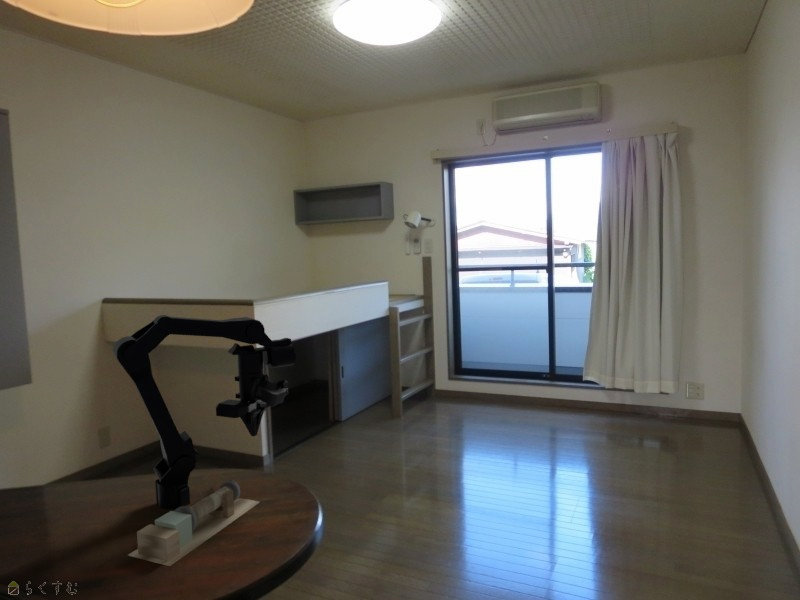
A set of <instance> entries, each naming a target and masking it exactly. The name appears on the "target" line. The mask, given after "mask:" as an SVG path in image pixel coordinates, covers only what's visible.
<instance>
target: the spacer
mask: <svg viewBox="0 0 800 600" xmlns="http://www.w3.org/2000/svg"><path fill="white" fill-rule="evenodd" d="M154 525H156V526H161V527H165V528H170V529H174V530H178V531H179V539H180V548H182V547H183V546H185V545H186V544H188V543H189V542H191V541H192V540H193V539H192V519H191V515H189V514H184V513H179V512H174V510H169V511H168V512H167V513H165V514H163V515H161V516H160V517H158V518H156V519H154Z"/></svg>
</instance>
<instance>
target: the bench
mask: <svg viewBox="0 0 800 600" xmlns="http://www.w3.org/2000/svg"><path fill="white" fill-rule="evenodd" d="M201 491H202V492H201V493H202V499H204V498H206V497H207V496H209V495H211V494H212V493H214V492H215V490H214V487H213V486H207V487H205V488H204V489H202V490H201ZM222 501H223V505H222V506H221V507H219V508H217V509H216V510H214V511H213V512H211V513H210V514H208V515H207V516H205V517H204V518H202V519H201V520H199V521H197V526H196V528H195V529H194V530H193V531H192V539H193V540H192V541H191V542H189V543H188V544H186V545H185V546H183V547H182V548H180V539H179V531H178V530H174V529H170V528H165V527H161V526H156V525H155V524H152V523H151V524H150V523H149V524H148V525H146V526H145V527H143V528H141V529H139V530H138V531H136V536H137V537H136V539H137V542H136V543H137V549H135V550H134V551H132V552H130V553H129V554H127V556H128V557H131V558H136V559H140V560H144V561H148V562H152V563H156V564H160V565H163V566H167V567H171V566H173V564H175V563H176V562H178V561H180V560H182V558H184V557H186V555H188V554H190V553H191V552H192V551H194V550H195V549H197V548H198V547H199V546H201V545H202V544H204V543H205V542H206V541H208V540H209V539H210V538H212V537H213V536H215V535H216V534H218V533H219V532H220V531H222V530H223V529H225V528H226V527H228V526H229V525H230V524H232V523H233V522H234V521H236V520H237V519H239V518H240V517H241V516H243V515H244V514H246V513H247V512H248V511H251V509H253V508H255V506H257V505H259V503H261V501H260V500H259V501H258V500H253V499H248V498H242V497H239V498H238V499H236V500H235V501H234V497H233V491H231V490H228V491H226V492H225V493H223V494H222Z"/></svg>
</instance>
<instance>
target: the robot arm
mask: <svg viewBox="0 0 800 600" xmlns="http://www.w3.org/2000/svg"><path fill="white" fill-rule="evenodd" d="M265 330H266V329H265V326H264V325H263V323H262V321H260V320H258V319H255V318H251V317H249V316H248V317H247V316H243V317H235V318H228V319H207V318H205V319H204V318H197V317H196V318H195V317H193V318H192V317H180V316H168V315H166V314H160V315H158V316H156V317H155V318H154V319H153V320H151V321H150V323H148V324H146V325H145V326H143V327H141V328H140V329H138V330H136V331H135V332H134V333H133V334H131V335H130V336H129V335H128V336H124V337H121V338H119V339H118V340H117V341H116V342H115V344H114V346H113V348H112V352H113V356H114V357H115V359H116V360H117V362H118V363H119V364H120V365H121V367H122V368H123V369H124V371H125V373H126V374H127V375H128V376H129V378H130V379H131V380H132V381H133V384H134V386H135V389H136V390H137V392H138V394H139V396H140V398H141V401H142V402H143V405H144V407H145V409H146V411H147V413H148V415H149V417H150V420H151V422H152V424H153V426H154V428H155V430H156V432H157V434H158V437H159V443H160V448H161V454H162V458H161V459H160V460H159V461H158V462H157V463H156V465H155V466H154V467H153V471H154V473H155V475H156V477H157V479H156V480H155V484H154V485H155V496H156V498H155V500H156V505H158V507H159V509H161V510H162V509H163V510H173V509H177V508H179V507H181V506H188V505H190V504H191V497H190V496H191V493H190V491H191V490H190V486H189V479H190V475H191V472H193V471H194V469H195V468H196V466H197V464H198V457H197V455H199V454H200V453H199V452H198V451H197V450H196V448H195V447H194V443H193V439H192V437H191V436H190V435H189V434H188V432H187V431H186V430H184V431H183V432H181V433H180V432H179V431H178V429H177V426H176V424H175V422H174V420H173V418H172V416H171V413H170V412H169V408H168V406H167V404H166V403H165V400H164V397H163V396H162V393H161V392H160V390H159V387H158V384H157V383H156V380H155V379H154V375H153V370H152V364H151V359H150V355H149V354H150V353H152V352H153V350H155V349H156V348H157V347H158V346H159V345H160V344H161V343H162V342H163V341H164V340H165V339H166V338H167V337H168V336H169V335H174V336H176V335H178V336H192V337H195V336H196V337H213V338H224V339H228V340H232V341H235V343H234V344H233V345H232V346H231V347H230V349H228V351H227V353H228V354H231V355H232V356H237V371H238V375H236V376H234V382H238V390H239V392H236V393H235V399H226V400H224V401H221V402H218V404H216V406H215V416H216V417H222V418H223V417H224V418H230V419H238V418H240V419H241V421H242V422H243V424H244V426H245V428H246V430H247V431H248V433H249V435H250V436H251V437H256V436H257V435H258V433H259V428H260V425H261V422H262V419H263V417H264V416H263V415H264V413H265V411H267V410H268V409H269V408H271V407H272V408H273V407H276V406H277V405H279V404H283V402H284V400H285V398H286V396H287V395H289V394H290V392H289V382H288V381H287V380H286V379H281V380H278V381H277V382H276V381H274V382H272V381H270V379H269V378H270V377H269V375H268V373H264V365H265V366H268V368H269V369H275V368H282V367H289V366H290V367H291V366H294V365H295V363H296V361H297V360H296V359H297V358H296V357H297V353H296V352H295V348H294V346H293V344H292V339H291V338H289V337H284V338H280V339H273V340H272V339H271V338H270V337H269V336H268V335H267V333H266V332H265ZM236 342H239V343H244V344H247V345H240V344H238V343H236ZM254 345H258V346H260V347H255V346H254ZM237 399H239V400H237Z"/></svg>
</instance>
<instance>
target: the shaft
mask: <svg viewBox="0 0 800 600" xmlns="http://www.w3.org/2000/svg"><path fill="white" fill-rule="evenodd" d="M240 488H241V487H240V485H239V484H238V483H237V482H236V481H235V480H233V479H231V480H227V481H225V482H224V483H222V484H221V485H220V486H219V489H218V490H215V491H214V493H212V494H211V495H209V496H207V497H206V498H204V499H203V498H202V499H201V500H199V501H198V502H196V503H194V504H193V505H191V506H188V505H187V506H181V507H179V508H175V509H174V510H173V511H174V512H179V513H184V514H189V515H191V519H192V531H193V530H194V529H195V528H196V526H197V521H199V520H201V519H202V518H204V517H205V516H207V515H208V514H210V513H211V512H213V511H214V510H216V509H217V508H219V507H221V506H222V505H223V501H222V494H223V493H225V492H226V491H228V490H231V491H233V497H234V501H235V500H236V499H238V498H240V496H241V489H240Z"/></svg>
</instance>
